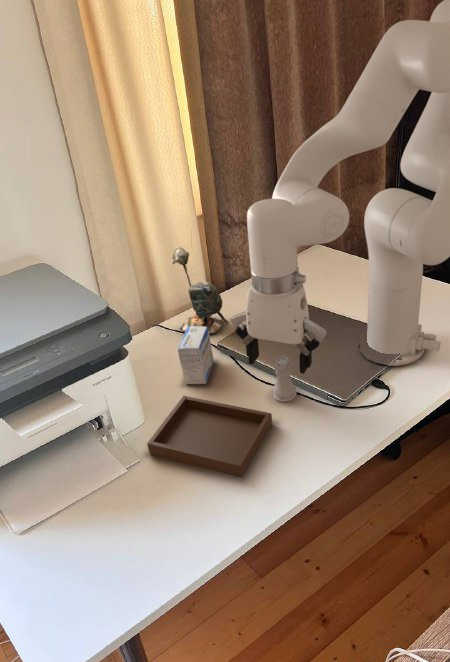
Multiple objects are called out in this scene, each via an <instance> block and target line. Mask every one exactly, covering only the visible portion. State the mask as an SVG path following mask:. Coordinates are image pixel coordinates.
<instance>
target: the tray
mask: <svg viewBox="0 0 450 662" xmlns="http://www.w3.org/2000/svg"><path fill="white" fill-rule="evenodd" d="M272 415H273V414H272V413H271V412H267V411H261V410H257V409H252V408H246V407H242V406H236V405H232V404H227V403H222V402H217V401H212V400H207V399H202V398H196V397H191V396H188V395H183V396H182V397H181V398H180V400H179V401H178V402H177V403H176V405H175V406H174V407H173V409H172V410H171V411H170V413H169V414H168V415H167V416H166V418H165V419H164V420H163V422H162V423H161V424H160V426H159V427H158V428H157V430H156V431H155V433H153V435H152V436H151V438H150V439H149V440H148V441H147V443H146V444H147V449H148V452H149V455H151V456H155V457H159V458H164V459H168V460H171V461H175V462H179V463H184V464H188V465H192V466H196V467H199V468H203V469H206V470H207V469H208V470H212V471H215V472H220V473H223V474H227V475H232V476H236V477H238V478H239V477H240V478H243V476H244V475H245V474H246V471H247V470H248V469H249V466H250V464H251V463H252V461H253V459H254V457H255V456H256V454H257V452H258V451H259V448H260V447H261V446H262V443H263V442H264V440H265V438H266V437H267V435H268V433H269V431H270V430H271V428H272V426H273V425H274V424H273V416H272Z"/></svg>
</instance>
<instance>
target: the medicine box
mask: <svg viewBox="0 0 450 662" xmlns="http://www.w3.org/2000/svg"><path fill="white" fill-rule="evenodd" d="M210 337H211V336H210V333H209V330H208V327H202V326H192V327H187V329H186V332H185V331H184V334H183V337H182V339H181V340H180V343H179V346H178V348H177V354H178V358H179V363H180V368H181V372H182V373H181V374H182V377H183V382H184V384H185V385H206V384H207V382H208V379H209V377H210V373H211V370H212V367H213V364H214V362H215V360H214V354H213V349H212V348H213V347H212V342H211V338H210Z"/></svg>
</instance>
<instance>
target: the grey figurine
mask: <svg viewBox="0 0 450 662" xmlns="http://www.w3.org/2000/svg"><path fill="white" fill-rule="evenodd" d="M189 256H190V253H189V252H188V251H187V250H185V249H184V248H183V247H180V246H177V247H176V248H175V250H174V251H173V255H172V263H171V265H175V264H178V265H179V266H180V265H181V266H182V267H183V270H184V273H185V274H186V277H187V282H188V286H189V287H188V290H187V292H188V295H189V299H190V302H191V305H192V309H193V311H194V314H193V316H191V317H187V318H186V320H185V321H184V322H183V323H182V325H181V326H180V327H179V330H180V331H183V332H184V333H185V332H186V329H187V327H192V326H202V327H208V330H209V334H215V333H217V332H218V331H220V329H221V327H222V326H224V324H223V323H224V322H225V323H226V324H227V325H230V320H228V319H226V318H225V317H224V315H223V313H222V312H221V310H222V308H223V298H222V295H221V294H220V292H219V290H218V289H217V288H216V287H215V285H213V283H210V282H209V281H203V282H201V281H200V282H196V283H195V284H191V279H190V276H189V274H188V269H187V264H188V262H189V258H190V257H189ZM216 314H217V315H218V316H219V317H220V318H217V317H215V316H213V315H216Z"/></svg>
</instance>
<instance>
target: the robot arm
mask: <svg viewBox="0 0 450 662" xmlns="http://www.w3.org/2000/svg"><path fill="white" fill-rule="evenodd" d="M420 90H421V91H426V92H429V93H430V92H431V93H430V95H429V98H428V100H427V103H426V105H425V107H424V109H423V111H422V112H421V115H420V117H419V119H418V121H417V123H416V125H415V128H414V129H413V132H412V133H411V135H410V138H409V140H408V142H407V143H406V145H405V148H404V151H403V153H402V156H401V159H400V164H399V165H400V172H401V174H402V176H403V177H404V178H405V179H406V180H408V181H409V182H410V183H412V184H414V185H417V186H419V187H421V188H424V189H426V190H430V191H432V192H434V193H435V195H434V197H433V199H432V200H431V199H430V198H427V197H425V196H423V195H420V194H418V193H415V192H413V191H410V190H407V189H404V188H397V187H391V188H386V189H385V188H384V189H383V190H380V191H379V192H377V193H376V194H375V195H374V196H372V198H371V199H370V201H369V202H368V204H367V206H366V208H365V212H364V217H363V218H364V220H363V227H364V228H363V229H364V234H365V241H366V245H367V246H366V247H367V255H368V282H367V284H368V285H367V286H368V287H367V320H366V322H367V323H366V324H367V325H366V332H367V343H368V345H369V347H371V348H372V349H374V350H376V351H378V352H380V353H385V354H394V355H395V354H399V353H400V354H401V353H402V354H403V355H402V356H401V357H400V358H399V359H398V360H396V362H394V363H390V365H388V366H387V367H398V366H399V367H400V366H404V365H408V364H411V363H414V362H416V361H417V360H419V359H420V358H421V357H422V356H423V354H424V352H425V350H429V351H435V352H439V351H440V349H441V340H437V334H433V333H425V332H424V331H422V327H423V325H422V324H421V323H420V324H419V320H420V310H421V309H420V308H421V297H422V286H423V284H422V283H423V278H424V277H423V275H424V265H425V266H437V265H439V264H441V263H444V262H445V261H446V260H447V259H449V258H450V0H442V1H441V2H440V3H439V4H437V6H436V7H435V8H434V9H433V12H432V13H431V16H430V19H429V20H419V19H408V20H407V19H406V20H401V21H398V22H396V23H394V24H393V25H392V26H391V27H389V28H388V29H387V31H386V32H385V33H384V34H383V36H382V38H381V39H380V41H379V43H378V45H377V46H376V48H375V50H374V52H373V53H372V55H371V57H370V59H369V60H368V62H367V64H366V66H365V67H364V69H363V71H362V73H361V74H360V76H359V78H358V80H357V82H356V83H355V85H354V87H353V89H352V91H351V92H350V94H349V96H348V97H347V99H346V101H345V103H344V104H343V106H342V108H341V110H340V111H339V112H338V113H337V115H336V116H334V118H332V119H331V120H329V121H327V122H326V123H325V124H324V125H322V126H321V127H320V128H319V129H317V131H316V132H314V133H313V134H312V135H311V136H309V138H307V139H306V140H305V141H304V142H303V143H302V144H301V145H300V146H299V147H298V148H297V149H296V151H295V152H294V153H293V154H292V156H291V157H290V159H289V161H288V163H287V164H286V166H285V168H284V169H283V171H282V173H281V175H280V177H279V179H278V180H277V182H276V185H275V187H274V190H273V193H272V196H271V198H266V199H261V200H259V201H255V202H254V203H252V204H251V206H250V207H249V208H248V210H247V213H246V224H247V226H246V227H247V238H248V251H249V252H248V253H249V264H250V265H249V266H250V277H251V281H250V283H249V285H248V289H247V295H246V304H245V305H246V309H245V311H242V312H239V313H237V314H234V315H232V317H231V318H230V319H229V323H230V324H231V325H232V328H233V329H234V330H235V334H236V335H237V336H238V337H239V338H240V339H241V340H242V343H243V345H245V352H246V357H247V358H248V364H249V365H253V364H255V362H256V361H257V359H258V358H259V357H260V347H259V340H264V341H269V342H270V341H271V342H275V343H281V344H287V345H288V344H289V345H295V346H296V348H297V349H298V350H299V351H300V354H299V357H298V358H299V373H300V374H302V375H304V374H305V373H306V371H307V369H310V368H311V366H312V364H313V363H312V360H313V359H312V358H313V356H312V355H313V354H312V353H313V351H314V350H316V349H317V348H318V347H319V346H320V345H321V343H322V342H323V340H324V339H325V337H326V335H327V333H328V331H327V330H326V329H325V328H324V327H322V326H320V325H319V324H317V323H316V322H315V321H312V320H310V315H309V307H308V299H307V295H306V290H305V287H304V284H306V281H307V275H306V274H302V273H300V267H298V248H300V247H306V246H307V247H308V246H316V245H323V244H328V243H331V242H333V241H336V240H337V239H338V238H340V236H342V235H343V234H344V232H345V231H346V229H348V226H349V223H350V212H349V208H348V206H347V205H346V203H345V202H344V201H343V200H342V199H340V198H339V197H338V196H336V195H334V194H332V193H330V192H328V191H326V190H324V189H322V188H319V185H320V183H321V182H322V180H323V178H324V177H325V176H326V175H327V173H328V172H330V170H331V169H332V168H333V167H334V166H336V165H337V164H338V163H340V162H341V161H343V160H345V159H347V158H349V157H352V156H355V155H358V154H361V153H365V152H367V151H371V150H375V149H378V148H380V147H382V146H384V145H386V144H387V143H388V141H390V139H391V137H392V136H393V133H394V131H395V130H396V128H397V126H398V125H399V123H400V121H401V120H402V119H403V116H404V114H405V113H406V111H407V110H408V108H409V106H410V105H411V103H412V101H413V99H414V98H415V97H416V95H417V94H418V92H419V91H420ZM243 322H246V326H245V325H244V324H243ZM308 333H310V334H312V335H314V338H312V339H311V338H310V336H308ZM362 340H363V339H362Z"/></svg>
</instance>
